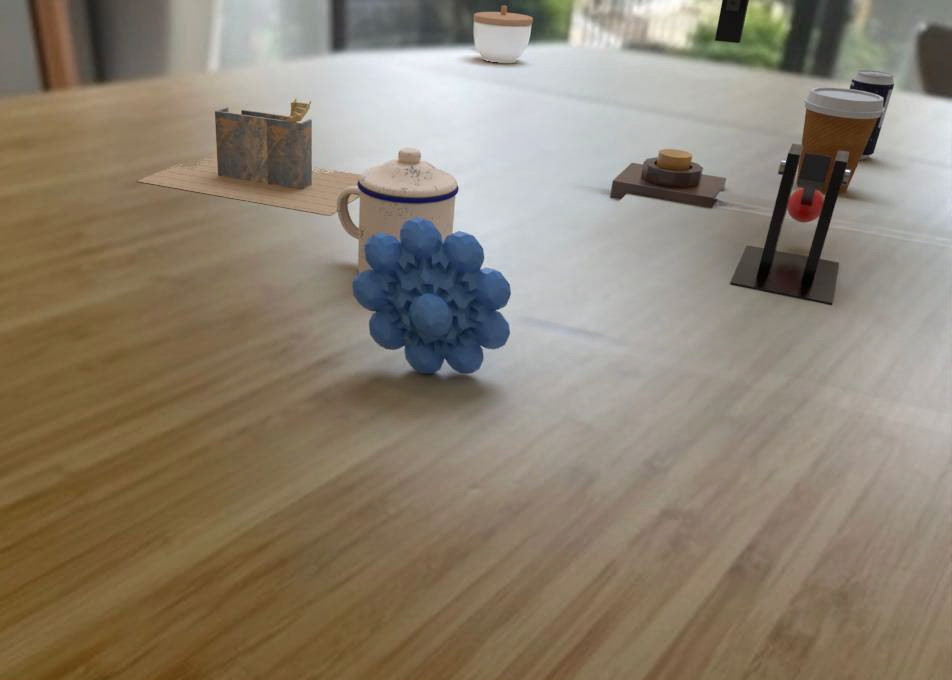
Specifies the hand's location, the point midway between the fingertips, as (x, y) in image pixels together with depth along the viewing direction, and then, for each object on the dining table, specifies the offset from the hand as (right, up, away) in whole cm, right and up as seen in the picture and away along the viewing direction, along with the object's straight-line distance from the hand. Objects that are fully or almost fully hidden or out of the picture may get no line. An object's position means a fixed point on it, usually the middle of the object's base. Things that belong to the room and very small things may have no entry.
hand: (727, 41), depth 104 cm
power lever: (+2, -22, -16) cm, 28 cm away
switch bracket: (0, -30, -16) cm, 34 cm away
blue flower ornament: (-35, -40, -37) cm, 65 cm away
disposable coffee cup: (+18, -13, +16) cm, 27 cm away
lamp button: (-5, -13, +6) cm, 15 cm away
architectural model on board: (-54, -15, +5) cm, 57 cm away
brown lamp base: (-5, -16, +8) cm, 19 cm away
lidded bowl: (-17, +31, +92) cm, 99 cm away
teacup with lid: (-38, -29, -18) cm, 52 cm away
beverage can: (+30, -5, +32) cm, 44 cm away
